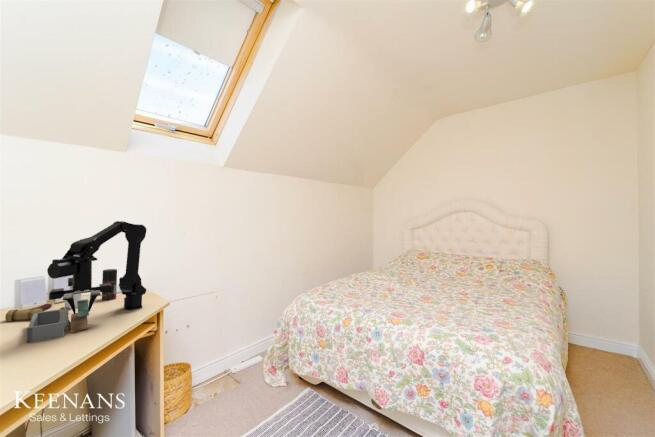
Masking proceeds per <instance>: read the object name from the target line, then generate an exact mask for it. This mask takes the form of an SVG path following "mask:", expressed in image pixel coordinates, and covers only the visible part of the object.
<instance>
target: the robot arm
mask: <svg viewBox="0 0 655 437" xmlns="http://www.w3.org/2000/svg"><path fill="white" fill-rule="evenodd" d="M121 233H124V236H125V239H126V241H127V243H128V245H127V253H126V254H127V255H126V264H125V274H124V275H123V276H122V277H119V280H118V282H119V283H118V287H119V290H120V291H121V295H122V296H123V295H124V296H125V297H124V298H123V307H124V308H125V310H127V311H128V310H134V309H141V308H143V295H145V294H146V292H147V288H145V287H144V285H142V278H141V276H140V274H139V266H140V258H141V246H142V243H143V242H144V240H145V238H146V235H147V227H146V226H145V225H144V224H137V223H136V224H135V223H130V222H127V221H119V220H118V221H117V220H116V221H114V222H113V223H112V224H110V225H109V226H107V227H105V228H103V229H102V230H101V231H98V232H97V233H95V234H93V235H92V236H90V237H85V238H82V239H79V240H76V241H74V242H72V243H71V244H70V247H69V249H68V250H67V252H65V254H64V255H63V257H62V258H60V259H59V258H58V259H52V262H51V263H50V264H49V266H48V268H47V275H48V277H49V278H51V279H54V280H55V279H59V278H66V277H69V276H72V277H69V278H67V284H68V285H67V287H69V288H70V286H73V290H70V289H66V290H65V288H64V287H63V288H62V287H61V288H54V289H51V290H50V291H49V294H48V300H50V301H53V300H60V299H62V300H63V301H65V300H67V302H68V303H69V304H70V306H71V308H72V309H71V310H72V314H75V313H77V312H76V309H77V308H75V303H74V297H73V294H80V293H81V294H86V293H90V295H89V300H88V310H89V313H90V311H91V310H92V307H93V304H94V303H95V301H96V299H97V297H99V296H101V294H102V293H108V292H112V285H111V284H110V283H106V284H102V283H99V286H94V287H93V286H92V284H93V283H92V281H93V280H92V279H93V278H92V275H93V274H92V273H93V272H92V271H93V270H92V269H93V268H92V267H93V266H92V265H93V264H92V262H93V261H94V262H95V261H98V258H97V257H95V256H94V255H95V253H97V251H99V249H100V248H101V246H102V245H103V244H105V243H107V241H109V240H111V239H113V238H114V237H115V236H117V235H119V234H121ZM75 291H77V292H75Z"/></svg>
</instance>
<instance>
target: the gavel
mask: <svg viewBox="0 0 655 437" xmlns="http://www.w3.org/2000/svg"><path fill="white" fill-rule="evenodd" d="M52 306H53V303H46V304H45V303H44V304H42V305H39V306H37V307H33V308H31V309H22V310H21V309H20V310H19V309H9V310H8V311H7V312H6V314H5V317H4V318H5V321H6V322H7V323H8V322H15V321H31V319H32V317H33V314H34V313H36V312H44V311H48V310H49V309H51V307H52Z"/></svg>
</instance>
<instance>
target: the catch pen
mask: <svg viewBox="0 0 655 437" xmlns="http://www.w3.org/2000/svg"><path fill="white" fill-rule="evenodd" d="M59 310H60V308H59V309H52V310H44V311H43V312H36V313H34V314H33V317H32V319H30V320H29V321H30V322H29V323H28V326H27V333H26V334H27V335H26V343H27V344H30V343H34V342H39V341H47V340H53V339H58V338H64V336H65V330H64V322H59V319H60V315H59V314H60V312H59ZM58 322H59V323H58Z"/></svg>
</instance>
